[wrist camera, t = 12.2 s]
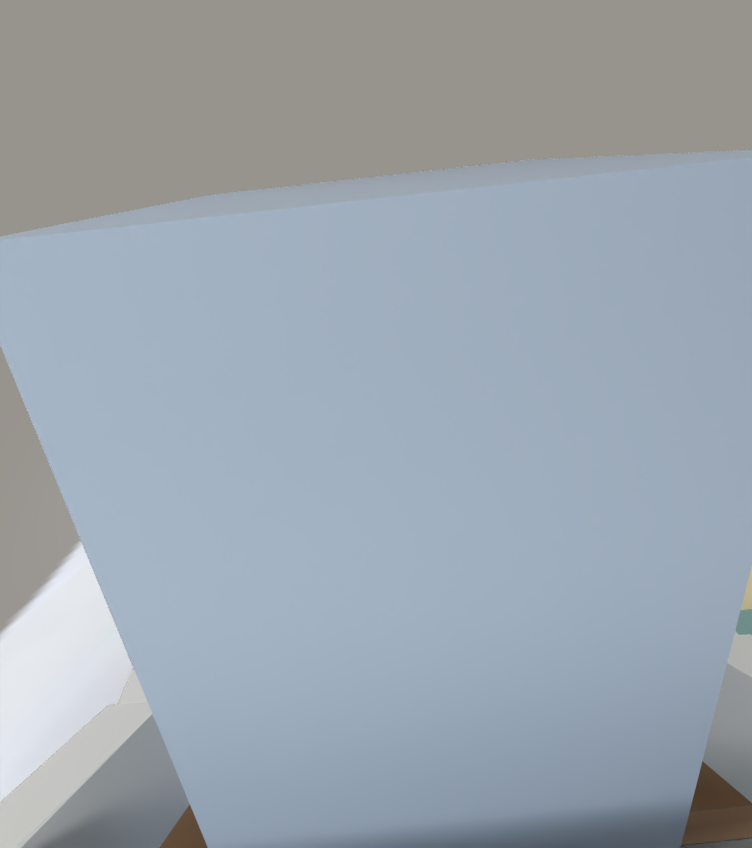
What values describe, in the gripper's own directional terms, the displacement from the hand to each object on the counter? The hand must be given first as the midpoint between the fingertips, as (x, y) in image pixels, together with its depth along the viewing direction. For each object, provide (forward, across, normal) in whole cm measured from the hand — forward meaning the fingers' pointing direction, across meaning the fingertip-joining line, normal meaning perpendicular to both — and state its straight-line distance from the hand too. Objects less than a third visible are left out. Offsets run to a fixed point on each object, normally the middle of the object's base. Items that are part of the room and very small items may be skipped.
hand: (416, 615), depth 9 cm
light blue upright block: (0, 0, +8) cm, 8 cm away
